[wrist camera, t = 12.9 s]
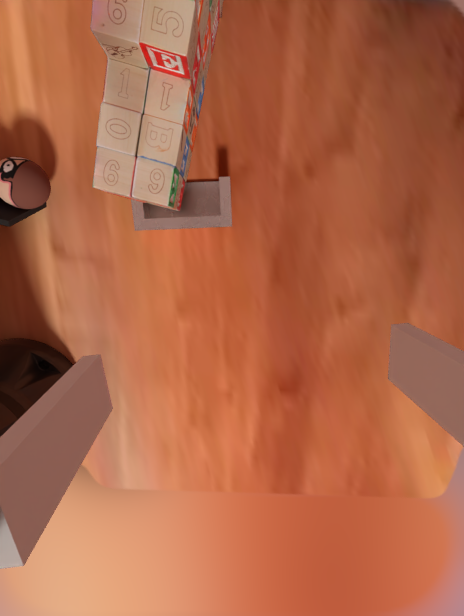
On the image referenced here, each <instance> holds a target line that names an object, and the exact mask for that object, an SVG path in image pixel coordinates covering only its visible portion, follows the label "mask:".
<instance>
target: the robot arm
mask: <svg viewBox="0 0 464 616" xmlns="http://www.w3.org/2000/svg"><path fill="white" fill-rule="evenodd" d="M388 379H389V380H390V381H391V382H392V383H393V384H394V385H395V386H397V387H398V388H399V389H400V390H401V391H402V392H403V393H404V394H405V395H407V396H408V397H409V398H410V399H411V400H412V401H413V402H414V403H416V404H417V405H418V406H419V407H420V408H421V409H422V410H423V411H425V412H426V413H427V414H428V415H429V416H430V417H431V418H432V419H433V420H435V421H436V422H437V423H438V424H439V425H440V426H441V427H442V428H444V429H445V430H446V431H447V432H448V433H449V434H450V435H451V436H453V437H454V438H455V439H456V440H457V441H458V442H459V443H460V444H462V445H463V446H464V351H462V350H460V349H458V348H456V347H454V346H452V345H450V344H448V343H446V342H444V341H442V340H440V339H438V338H436V337H435V336H433V335H431V334H429V333H427V332H425V331H423V330H421V329H419V328H417V327H415V326H413V325H411V324H409V323H403V324H393V325H391V339H390V355H389V370H388ZM112 409H113V407H112V403H111V399H110V394H109V390H108V386H107V381H106V377H105V373H104V368H103V364H102V360H101V355H90V356H83V357H82V358H81V359H80V360H79V361H78V362H77V363H75V364H74V365H72V364H71V363H70V361H69V360H68V359H67V358H66V357H65V356H63V355H62V354H61V353H60V352H58V351H57V350H55V349H53V348H52V347H50V346H48V345H46V344H43V343H40V342H37V341H33V340H28V339H9V340H4V341H0V569H2V568H11V567H19V566H24V565H25V563H26V561H27V559H28V557H29V556H30V554H31V552H32V550H33V548H34V547H35V545H36V543H37V541H38V540H39V538H40V536H41V534H42V533H43V531H44V529H45V527H46V526H47V524H48V522H49V520H50V518H51V517H52V515H53V513H54V511H55V510H56V508H57V506H58V504H59V503H60V501H61V499H62V497H63V495H64V494H65V492H66V490H67V488H68V486H69V485H70V483H71V481H72V479H73V478H74V476H75V474H76V472H77V471H78V469H79V467H80V465H81V464H82V462H83V460H84V458H85V457H86V455H87V453H88V451H89V449H90V448H91V446H92V444H93V442H94V441H95V439H96V437H97V435H98V434H99V432H100V430H101V428H102V426H103V425H104V423H105V421H106V419H107V418H108V416H109V414H110V412H111V411H112Z"/></svg>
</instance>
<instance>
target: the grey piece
mask: <svg viewBox="0 0 464 616" xmlns="http://www.w3.org/2000/svg"><path fill="white" fill-rule="evenodd" d="M131 203H132V210H133V218H134V226H135V230H158V229H181V228H204V227H226V226H232V215H231V190H230V177H219V181H213V182H187V183H185V187H184V192H183V197H182V203H181V208H180V211H176V210H172V209H168V208H164V207H160V206H156V205H153V204H149V203H143V202H140V201H136V200H132V199H131Z"/></svg>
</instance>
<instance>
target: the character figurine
mask: <svg viewBox="0 0 464 616" xmlns="http://www.w3.org/2000/svg"><path fill="white" fill-rule="evenodd" d="M50 191H51V186H50V181H49V179H48V177H47V175H46V173H45V172H44V171H43V169H42V168H41V167H39V166H38V165H37V164H36V163H34V162H32V161H30V160H28V159H25V158H21V157H9V158H5V159H3V160H1V161H0V224H1V225H5V226H9V227H10V226H12V225H13V224H15V223H17V222H19V221H21V220H23V219H25V218H27V217H28V216H30V215H32V214H34V213H36V212H38V211H40V210H42V209H43V208H45V207H46V201H47V199H48V198H49V195H50Z"/></svg>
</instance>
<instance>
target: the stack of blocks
mask: <svg viewBox="0 0 464 616" xmlns="http://www.w3.org/2000/svg"><path fill="white" fill-rule="evenodd" d="M222 5H223V0H93V4H92V17H91V31H92V32H93V34H94V35H95V37H96V39H97V40H98V42H99V44H100V45H101V47H102V48H103V50H104V52H105V53H106V55H107V57H108V59H107V67H106V75H105V84H104V92H103V102H102V103H101V107H100V115H99V124H98V132H97V141H96V146H97V153H96V161H95V169H94V177H93V187H94V188H96V189H99V190H102V191H105V192H108V193H111V194H114V195H118V196H121V197H125V198H129V199H132V200H136V201H140V202H143V203H149V204H153V205H156V206H160V207H164V208H168V209H172V210H176V211H180V208H181V203H182V197H183V192H184V187H185V182H186V181H187V176H188V171H189V166H190V161H191V156H192V151H193V147H194V141H195V137H196V132H197V127H198V118H199V113H200V108H201V103H202V98H203V94H204V87H205V83H206V78H207V73H208V68H209V63H210V58H211V54H212V51H213V47H214V42H215V37H216V32H217V28H218V23H219V18H220V14H221V9H222Z"/></svg>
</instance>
